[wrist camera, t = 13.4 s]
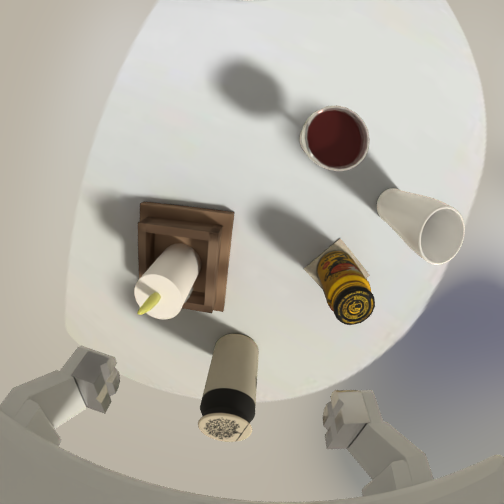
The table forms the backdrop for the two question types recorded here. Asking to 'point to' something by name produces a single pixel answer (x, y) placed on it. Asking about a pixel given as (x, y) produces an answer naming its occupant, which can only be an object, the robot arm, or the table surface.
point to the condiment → (343, 283)
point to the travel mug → (230, 389)
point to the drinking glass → (423, 224)
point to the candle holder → (197, 237)
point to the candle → (168, 282)
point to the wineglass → (335, 138)
